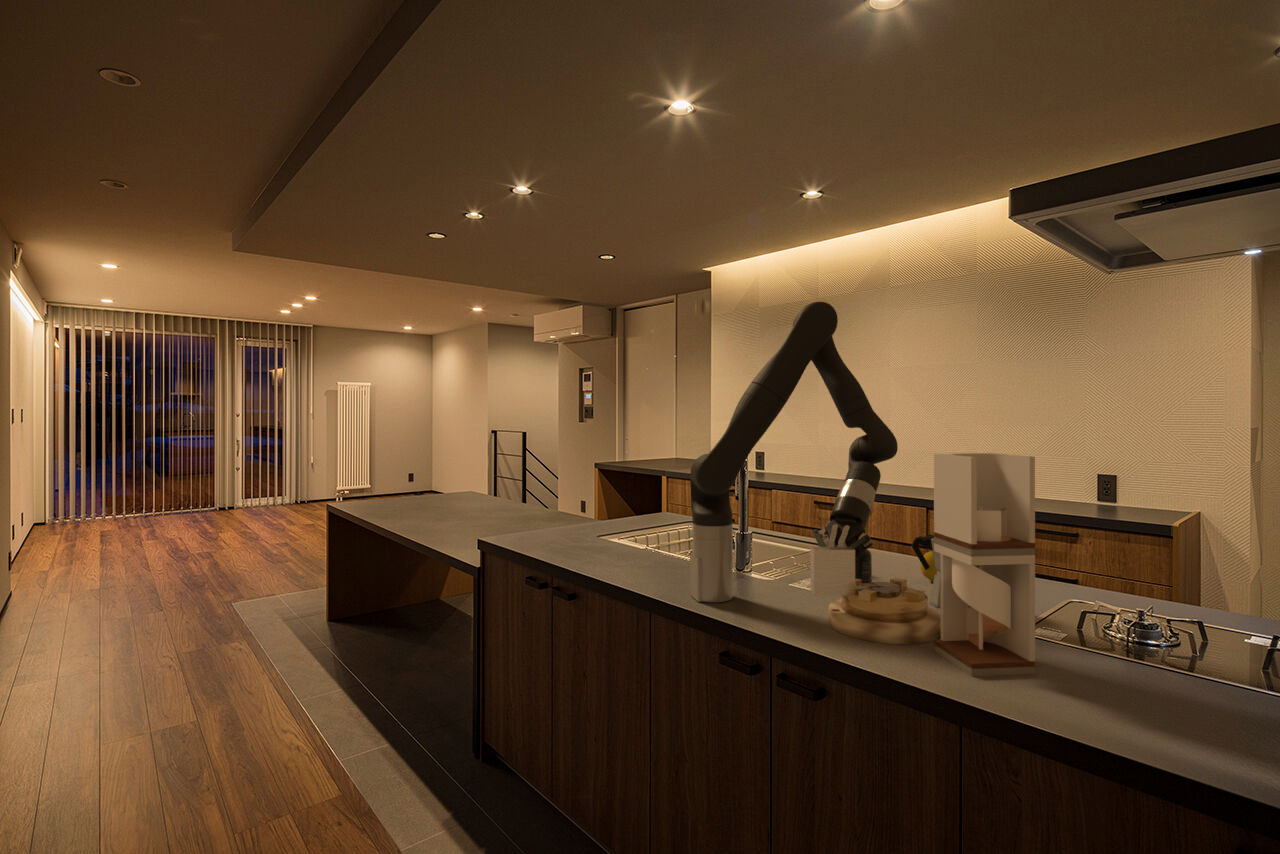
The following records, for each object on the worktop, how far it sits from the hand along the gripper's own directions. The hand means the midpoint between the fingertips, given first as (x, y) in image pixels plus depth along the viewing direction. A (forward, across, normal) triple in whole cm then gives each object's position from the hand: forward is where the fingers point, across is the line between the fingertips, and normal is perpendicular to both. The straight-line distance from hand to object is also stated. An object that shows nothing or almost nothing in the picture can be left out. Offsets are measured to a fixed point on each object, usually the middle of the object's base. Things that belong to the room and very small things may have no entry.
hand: (829, 573), depth 133 cm
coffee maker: (-12, +14, +28) cm, 33 cm away
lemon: (-25, +5, +41) cm, 48 cm away
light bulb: (-22, -18, +37) cm, 47 cm away
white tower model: (+10, +29, +5) cm, 31 cm away
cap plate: (+4, +9, +10) cm, 14 cm away
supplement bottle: (-13, -7, +29) cm, 32 cm away
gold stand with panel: (+3, +7, +7) cm, 10 cm away
